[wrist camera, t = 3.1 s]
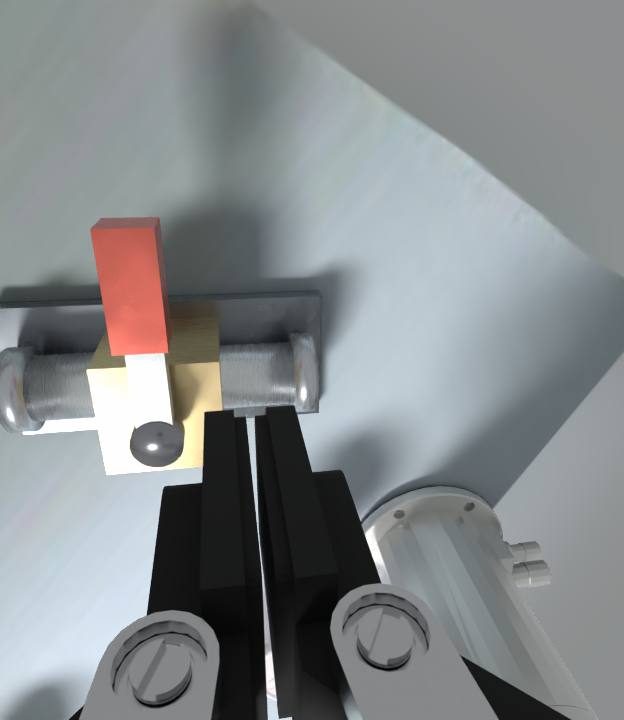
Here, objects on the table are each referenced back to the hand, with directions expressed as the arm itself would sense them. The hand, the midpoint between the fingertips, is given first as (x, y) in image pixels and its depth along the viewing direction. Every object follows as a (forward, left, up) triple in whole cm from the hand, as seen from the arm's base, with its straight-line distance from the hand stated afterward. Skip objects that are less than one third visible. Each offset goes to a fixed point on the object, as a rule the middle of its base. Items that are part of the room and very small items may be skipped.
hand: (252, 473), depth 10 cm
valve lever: (+4, +3, -14) cm, 15 cm away
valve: (+4, +8, -22) cm, 23 cm away
